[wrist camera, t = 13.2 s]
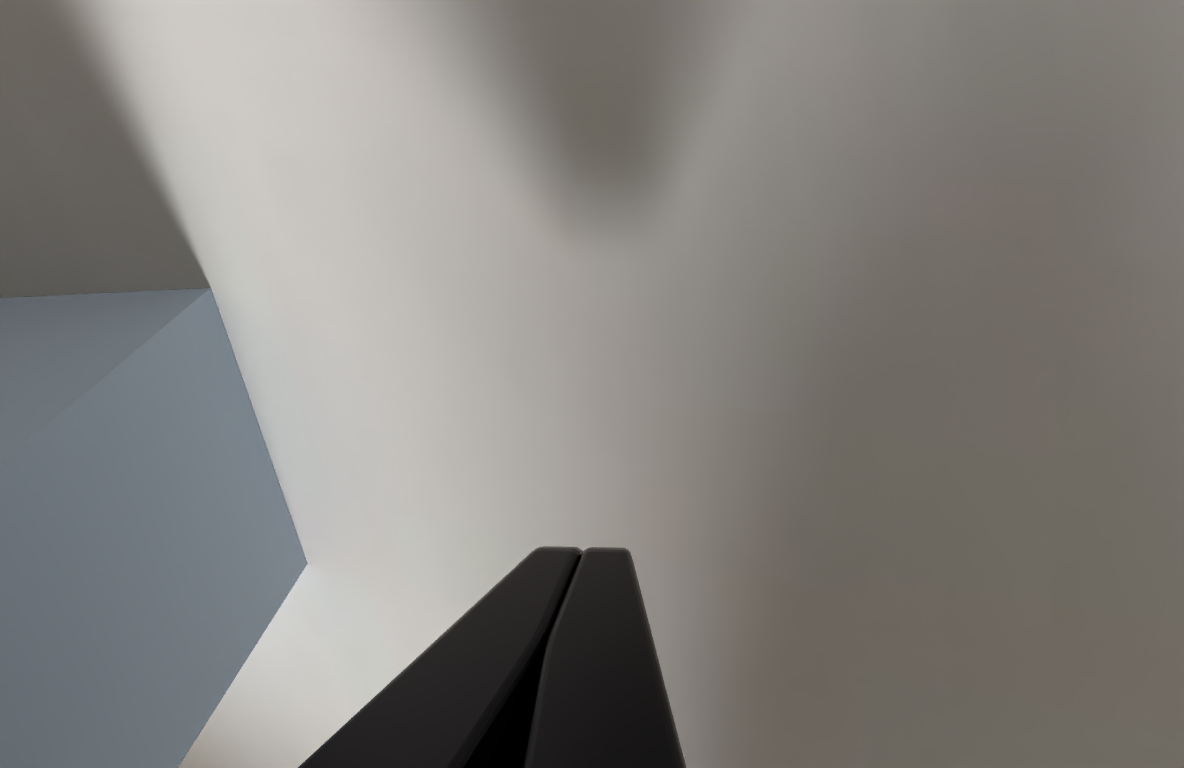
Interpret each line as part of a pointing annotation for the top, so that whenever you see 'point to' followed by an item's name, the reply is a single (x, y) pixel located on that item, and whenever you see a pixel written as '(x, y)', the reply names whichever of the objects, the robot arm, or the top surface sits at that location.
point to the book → (128, 527)
